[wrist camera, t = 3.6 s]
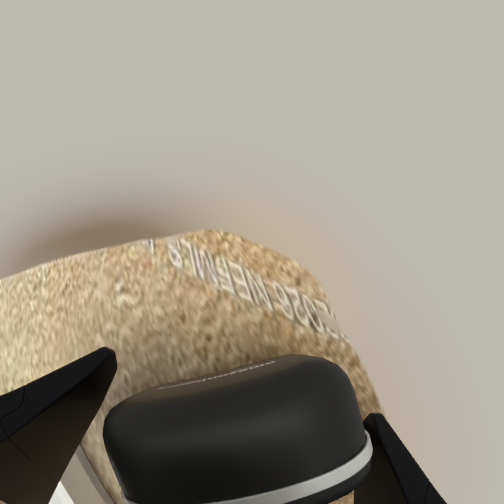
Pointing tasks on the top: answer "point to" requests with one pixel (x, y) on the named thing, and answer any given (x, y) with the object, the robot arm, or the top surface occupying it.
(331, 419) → the battery charger
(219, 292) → the top surface
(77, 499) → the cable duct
